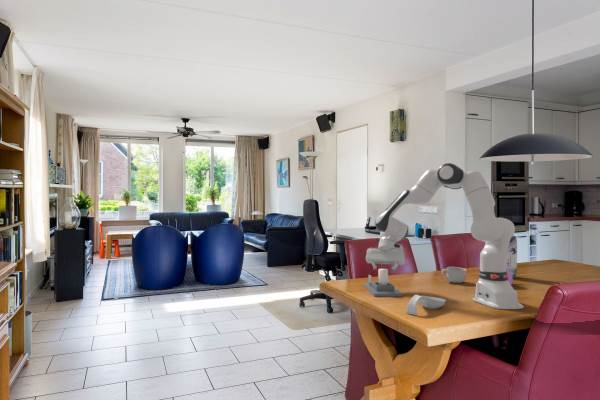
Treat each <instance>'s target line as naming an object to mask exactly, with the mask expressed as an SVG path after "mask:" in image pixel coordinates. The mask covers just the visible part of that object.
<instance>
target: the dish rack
mask: <svg viewBox="0 0 600 400" xmlns="http://www.w3.org/2000/svg"><path fill="white" fill-rule="evenodd" d="M372 277H373V276H372V275H371V274H368V282H363V287H364V288H365V289H366V290H367V291H368V292H369V293H370V294H371V295H372V296H373V297H376V298H380V297H382V298H383V297H384V298H385V297H387V298H388V297H403V296H404V295H403V294H404V293H403V292H402V291H400V290H399V289H397V288H396V287H395V285H394V284H393V283H391V281H388V286H378V281H372V279H373V278H372Z"/></svg>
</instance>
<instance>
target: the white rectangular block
mask: <svg viewBox="0 0 600 400" xmlns="http://www.w3.org/2000/svg"><path fill="white" fill-rule="evenodd" d="M377 269H378V271H377V272H378V273H377V274H378V275H377V277H378V280H377V282H378V286H388V282H389V269H388V268H377Z"/></svg>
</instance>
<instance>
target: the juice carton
mask: <svg viewBox="0 0 600 400" xmlns="http://www.w3.org/2000/svg"><path fill="white" fill-rule="evenodd" d="M517 258H518V240H517V235H515V233H514V234H513V236H512V237H511V239H510V242H509V245H508V249H507V254H506V268H507V269H508V270H509V272H510V274H511V276H512V279H513V280H514V279H516V278H517V271H518V267H517V266H518V259H517Z"/></svg>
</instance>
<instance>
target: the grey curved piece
mask: <svg viewBox="0 0 600 400" xmlns="http://www.w3.org/2000/svg"><path fill="white" fill-rule="evenodd" d="M418 303H420V304H421V305H422V306H423V307H424V308H425V309H430V310H431V309H432V310H437V309H439V308H441V307H443V306H444V305H445V304H446V299H444V298H441V297H436V296H427V295H419V294H414V295H413V296H412V297H411V298H410V300H409V302H408V304H407V306H406V314H407V315H413V316H417V315H418V311H417V310H418V307H417V306H418Z"/></svg>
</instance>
